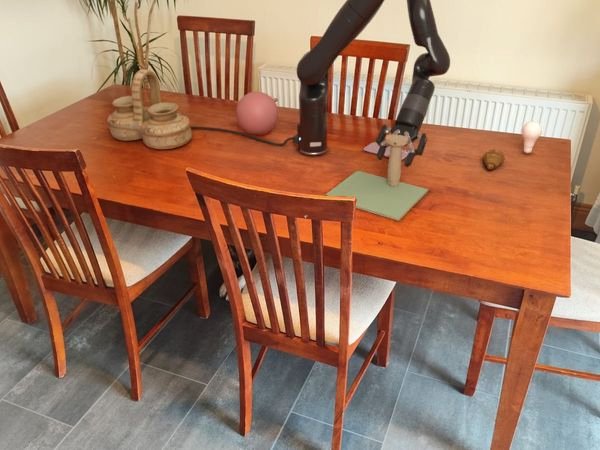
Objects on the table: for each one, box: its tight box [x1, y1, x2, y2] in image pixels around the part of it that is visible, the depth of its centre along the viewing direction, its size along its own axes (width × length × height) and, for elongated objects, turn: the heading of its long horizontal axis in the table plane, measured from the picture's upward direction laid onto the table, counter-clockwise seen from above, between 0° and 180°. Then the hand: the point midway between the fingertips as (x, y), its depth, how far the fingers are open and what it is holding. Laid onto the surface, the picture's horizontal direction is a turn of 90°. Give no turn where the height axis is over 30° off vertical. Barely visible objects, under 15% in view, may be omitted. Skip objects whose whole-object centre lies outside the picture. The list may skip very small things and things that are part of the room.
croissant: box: [482, 148, 506, 171], centre depth 176 cm, size 14×7×5 cm, turn 155°
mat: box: [324, 170, 429, 222], centre depth 161 cm, size 24×20×1 cm
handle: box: [384, 134, 408, 187], centre depth 161 cm, size 5×6×15 cm
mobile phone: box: [363, 141, 410, 160], centre depth 186 cm, size 8×1×15 cm
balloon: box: [235, 91, 279, 136], centre depth 201 cm, size 15×20×15 cm
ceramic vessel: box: [106, 68, 193, 150], centre depth 195 cm, size 34×18×25 cm, turn 61°
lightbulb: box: [521, 120, 543, 154], centre depth 181 cm, size 6×6×11 cm
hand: (392, 162), depth 159 cm, fingers open, 8 cm apart
